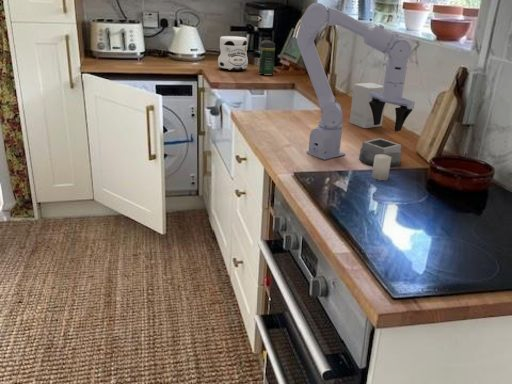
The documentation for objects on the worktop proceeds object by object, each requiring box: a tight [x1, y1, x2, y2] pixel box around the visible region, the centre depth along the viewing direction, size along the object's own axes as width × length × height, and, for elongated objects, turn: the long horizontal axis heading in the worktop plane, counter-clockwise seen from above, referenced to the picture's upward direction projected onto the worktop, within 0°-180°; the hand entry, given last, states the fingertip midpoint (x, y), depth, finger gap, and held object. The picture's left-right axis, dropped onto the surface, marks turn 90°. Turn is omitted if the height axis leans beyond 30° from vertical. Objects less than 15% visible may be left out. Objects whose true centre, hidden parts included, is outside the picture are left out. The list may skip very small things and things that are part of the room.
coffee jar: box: [258, 39, 276, 75], centre depth 272 cm, size 10×8×19 cm
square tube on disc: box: [358, 137, 402, 169], centre depth 147 cm, size 12×12×6 cm
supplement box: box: [349, 82, 386, 129], centre depth 184 cm, size 9×9×15 cm
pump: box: [371, 154, 393, 181], centre depth 135 cm, size 6×4×6 cm
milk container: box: [217, 35, 249, 71], centre depth 282 cm, size 17×17×18 cm
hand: (386, 127), depth 147 cm, fingers open, 7 cm apart
